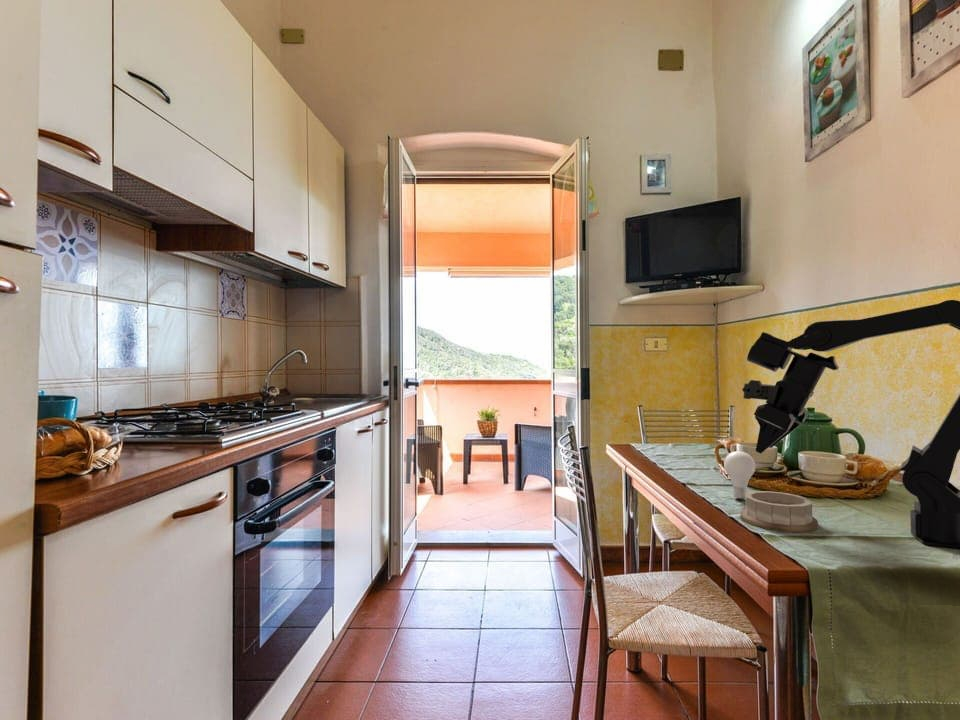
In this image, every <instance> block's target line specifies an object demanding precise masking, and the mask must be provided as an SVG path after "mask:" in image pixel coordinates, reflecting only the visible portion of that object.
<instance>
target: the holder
mask: <svg viewBox="0 0 960 720" xmlns="http://www.w3.org/2000/svg"><path fill="white" fill-rule="evenodd" d="M740 519H741V520H742V521H743V522H745V523H747V524H748V525H751V526H754V527H758V528H762V529H766V530H771V531H778V532H784V533H810V532H814V531H817V530H818V528H819V520H818V519H817V518H815V517H814V516H813V503H812V501H811V499H809V498H806V497H803V496H802V495H797V494H793V493H789V492H788V493H786V492H781V491H779V492H778V491H769V490H765V491H764V490H761V491H759V490H757V491H751V492H747V493H746V498H745V508H742V509H741V510H740Z"/></svg>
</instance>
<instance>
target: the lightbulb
mask: <svg viewBox="0 0 960 720" xmlns="http://www.w3.org/2000/svg"><path fill="white" fill-rule="evenodd" d="M723 466H724V470H725V472H726V473H727V475H728V476H729V478H730V481H731V485H732V489H733V497H734V498H736V499H737V500H738V501H742V500H744V499H746V493H748V492H747V487H748V485H749V480H750V479H751V477H752V476H753V475H754V473H755V471H756V462H755V459H754V458H753V457H752V456H751V455H750V454H749V453H747V452H745V451H742V450H736V451H731V452H730V453H728V454H727V455H726V457H724V461H723Z"/></svg>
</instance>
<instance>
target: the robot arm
mask: <svg viewBox="0 0 960 720" xmlns="http://www.w3.org/2000/svg"><path fill="white" fill-rule="evenodd" d="M945 325H948V326H950V327H953V328H954V329H957V330H959V331H960V300H957V299H948V300H944V301H942V302H939V303H935V304H931V305H925V306H919V307H915V308H910V309H904V310H900V311H896V312H891V313H886V314H882V315H881V314H880V315H876V316H871V317H866V318H861V319H845V320H844V319H839V320H823V321H816V322H813V323H811V324H809V325H808V326H807V327H806V328H805V329H804V332H803V334H800V335H798V336H796V337H795V338H791V339H790V340H789V341H787V340H786V339H781V338H778V337H776V336H774V335H772V334H770V333H768V332H765V331H762V332H761V333H760V336H759V337H758V338H757V339H756V340H755V342H754V343H753V345H751V346H750V349H749V351H748V354H747V356H746V357H747V358H746V360H747V362H748V363H751V364H754V365H757V366H760V367H761V368H764V369H767V370H769V371H772V372H773V373H775V372H777V371H778V370H779V369H781V370H782V371H783V370H784V369H785V368H787V369H786V371H785V372H784V375H783V377H782V379H781V380H777V381H776V383H775V384H763V383H762V381H761V380H754V379H750V380H749V381H748V382H746V383H745V382H744V385H743V387H742V389H741V390H742V392H743V399H745V400H751V399H754V400H763V401H766V402H765V403H764V404H761V405H760V404H759V405H758V406H757V407H756V408H755V411H754V413H753V415H754V418H755V420H756V421H757V424H759V429H758V430H759V432H758V436H757V442H756V446H755V452H756V453H758V454H763V452H765V451H767V449H769V448H773V447H775V446H776V445H777V444H778V443H779V442H781V441H782V440H783V439H785V437H787V436H788V435H790V434H791V433H792V432H793V431H795V430H796V429H797V428H798V427H800V426H801V425H802V423H805V421H806V419H807V417H808V415H809V412H808V410H807V408H806V406H807V404H808V401H809V400H810V398H811V397H813V396H814V393H815V391H814V390H815V389H816V386H817V385H818V383H819V381H820V378H821V377H822V375H823V373H824V372H825V370H826V368H827V369H830V370H832V371H839V368H840V367H839V365H838V364H837V361H836V357H835V356H833V355H831V356H830V355H829V356H828V357H824V356H823V355H819V354H816V353H814V352H822V353H827V352H832V351H835V350H838V349H840V348H844V347H848V346H850V345H852V344H855V343H858V342H861V341H864V340H867V339H871V338H877V337H883V336H884V337H885V336H889V335H894V334H900V333H906V332H910V331H916V330H917V331H918V330H923V329H926V328H932V327H938V326H945ZM793 350H798V351H799V350H800V351H807V350H812V351H814V352H812V351H811V352H809V353H808V354H807V355H805V354H802V353H799V352H796V351H793ZM792 356H793V358H792ZM791 358H792V359H791ZM789 362H790V363H789ZM788 364H789V365H788ZM787 366H788V367H787ZM797 419H798V421H797ZM910 449H911V450H910V452H909V456H908V457H907V459H906V460H905V461H903V462H902V463H901V464H900V465H901V466H900V471H902V476H901V477H902V478H901V482H902V484H903V486H904V489H906V490H907V492H909V493H910V494H912V495H913V496H914V497H916V498H917V500H918V501H913V505H914V506H913V507H914V508H913V509H910V534H911V535H913V536H914V537H915V539H917V540H918V541H919V542H921V543H922V544H923V545H927V546H928V545H929V546H934V547H935V546H938V547H945V548H954V549H955V548H956V549H960V489H958V488H957V486H955V485H954V484H953V483H951V482H950V480H951V476H952V473H953V469H954V467H955V463H956V460H957V459H956V458H957V455H958V453H959V451H960V393H959V395H958V396H957V397H956V398H955V400H954V402H953V404H952V406H951V407H950V409H949V411H948V413H947V414H946V415H945V417H944V419H943V420H942V422H941V424H940V425H939V427H938V429H937V431H936V432H935V433H934V436H933V437H932V438H931V440H930V441H929V442H928V443H927V444H926V445H924V447H923V448H922V449H920V448H918V447H917V446H915V445H912V447H911V448H910Z"/></svg>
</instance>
